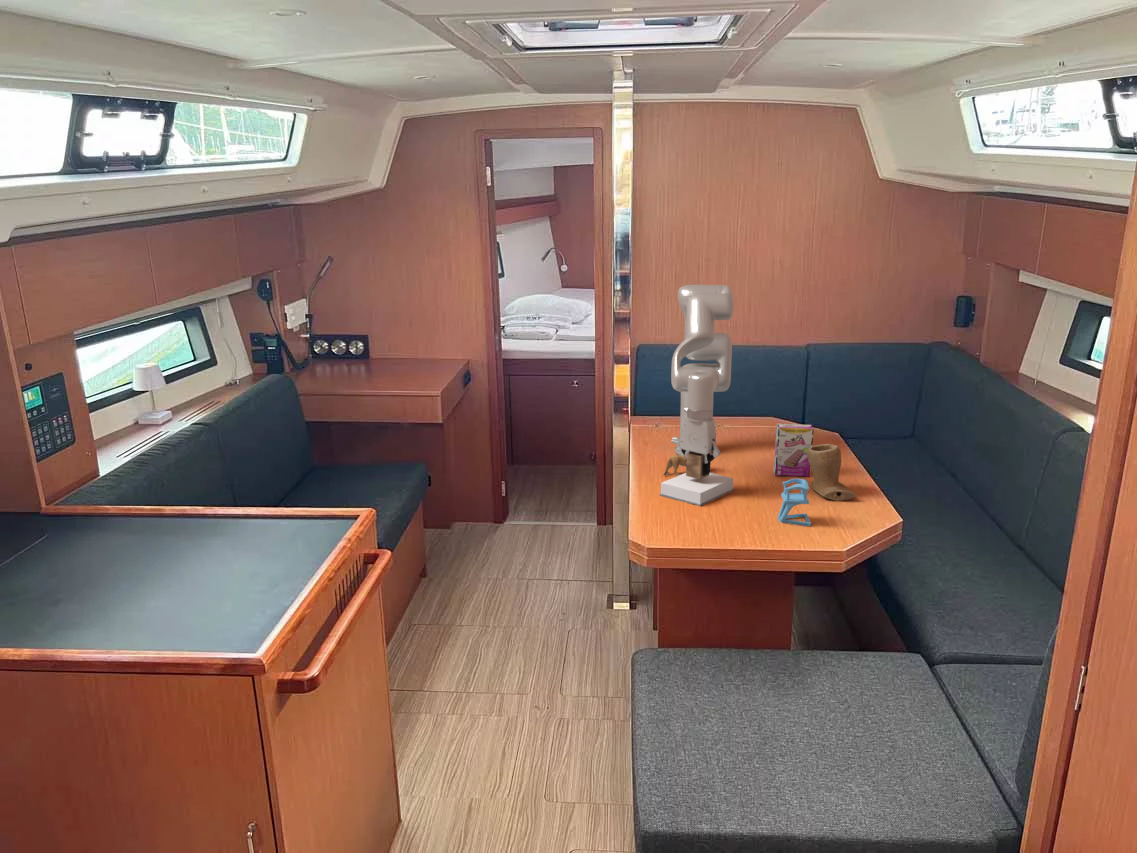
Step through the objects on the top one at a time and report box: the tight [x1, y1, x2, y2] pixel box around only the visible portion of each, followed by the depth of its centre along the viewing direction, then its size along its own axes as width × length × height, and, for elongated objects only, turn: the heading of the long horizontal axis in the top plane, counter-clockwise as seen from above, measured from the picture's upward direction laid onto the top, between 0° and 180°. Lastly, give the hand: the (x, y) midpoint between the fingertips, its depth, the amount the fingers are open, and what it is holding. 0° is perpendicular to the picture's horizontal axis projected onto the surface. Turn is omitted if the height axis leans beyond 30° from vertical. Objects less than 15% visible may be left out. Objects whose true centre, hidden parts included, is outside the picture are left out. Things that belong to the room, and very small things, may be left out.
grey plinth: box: [659, 472, 735, 507], centre depth 259 cm, size 14×18×4 cm
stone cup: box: [807, 443, 857, 502], centre depth 256 cm, size 15×12×15 cm
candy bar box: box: [773, 423, 815, 478], centre depth 274 cm, size 11×5×16 cm, turn 84°
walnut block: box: [685, 452, 709, 479], centre depth 257 cm, size 5×5×7 cm
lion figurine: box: [663, 454, 686, 477], centre depth 277 cm, size 15×5×9 cm, turn 114°
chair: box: [777, 478, 812, 527], centre depth 236 cm, size 8×8×12 cm
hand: (697, 472), depth 258 cm, fingers closed on walnut block, 5 cm apart
